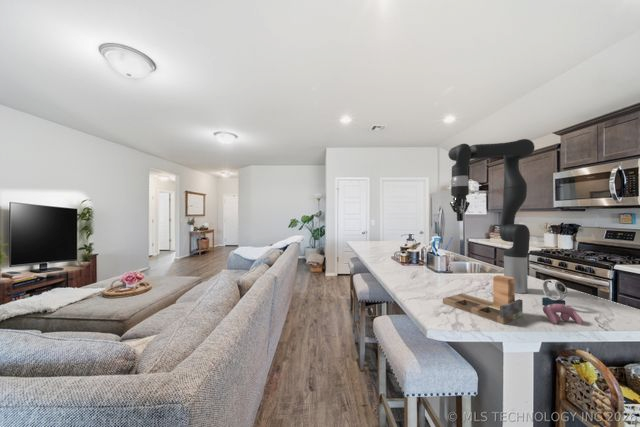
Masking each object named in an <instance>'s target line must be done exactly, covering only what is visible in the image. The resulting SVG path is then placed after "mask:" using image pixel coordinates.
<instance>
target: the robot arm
mask: <svg viewBox="0 0 640 427" xmlns="http://www.w3.org/2000/svg"><path fill="white" fill-rule="evenodd" d="M535 149H536V148H535V144H534V141H532V140H531V139H527V138H522V139H521V138H520V139H518V140H515V141H508V142H507V141H506V142H500V143H497V142H496V143H480V144H479V143H477V144H472V145H469V144H467V143H460V144H458V145H456V146H454V147H452V148H450V150H449V151H448V154H447V155H448V158H449V159H450V160H451V161H453V162H455V163H454V165H452V167H451V181H450V189H451V190H450V195H451V197H453V198H452V201H450V202H449V205H450V207H451V208H452V211H453V213H455V214H456V221H457V222H463V221H464V214H465V213H467V211H468V208H469V207H470V201H469V202H468V201H467V196H469V195H470V189H469V188H470V180H469V166H470V161H471V160H478V159H479V160H483V159H491V158H496V157H503V170H504V171H503V172H504V173H503V174H504V175H503V176H504V179H503V190H502V191H503V192H502V196H503V197H502V199H503V200H502V210H501V211H502V212H501V218H500V225H499V237H500V239H501V240H502V241H503V242H508V243H512V246H511V247H510V248H506V249H504V250H503V276H507V277H512V278H515V294H516V293H517V294H527V293H528V290H529V289H528V278H529V277H528V254H529V252H530V238H531V237H530V236H531V234H530V229H529V227H528V226H527V225H526V224H522V223H521V224H520V223H518V224H517V223H515V220H516V215H517V213H518V211H519V210H520V209H521V207H522V205H523V204H524V202H525V201H526V200H527V194H528V193H527V192H528V191H527V190H528V184H527V181H526V180H525V177H524V176H523V175H522V174H521V172H520V168H519V165H520V164H519V163H520V160H521V159H525V158H526V157H527V158H528V157H529V156H531V155H532V154H533V153H534V151H535Z"/></svg>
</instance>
